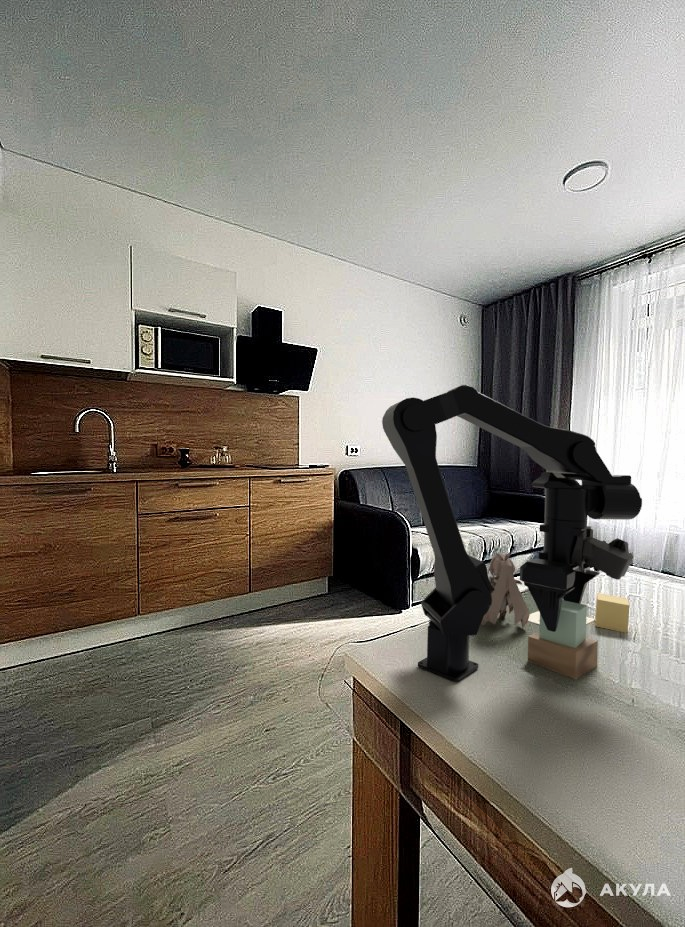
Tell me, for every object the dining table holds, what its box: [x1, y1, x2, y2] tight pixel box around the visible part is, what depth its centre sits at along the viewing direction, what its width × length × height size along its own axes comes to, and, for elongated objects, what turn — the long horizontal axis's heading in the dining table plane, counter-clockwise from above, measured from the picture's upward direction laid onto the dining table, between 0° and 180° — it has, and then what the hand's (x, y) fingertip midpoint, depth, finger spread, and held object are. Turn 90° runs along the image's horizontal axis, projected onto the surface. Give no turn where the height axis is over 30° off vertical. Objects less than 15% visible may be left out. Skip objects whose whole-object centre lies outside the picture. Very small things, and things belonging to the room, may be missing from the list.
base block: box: [527, 631, 599, 680], centre depth 67 cm, size 7×7×4 cm
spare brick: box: [594, 592, 630, 633], centre depth 83 cm, size 5×5×5 cm
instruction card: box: [527, 610, 595, 626], centre depth 86 cm, size 12×9×1 cm
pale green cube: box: [538, 599, 588, 648], centre depth 67 cm, size 5×5×5 cm
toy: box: [480, 552, 530, 629], centre depth 82 cm, size 9×8×15 cm
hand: (562, 623), depth 67 cm, fingers open, 9 cm apart
